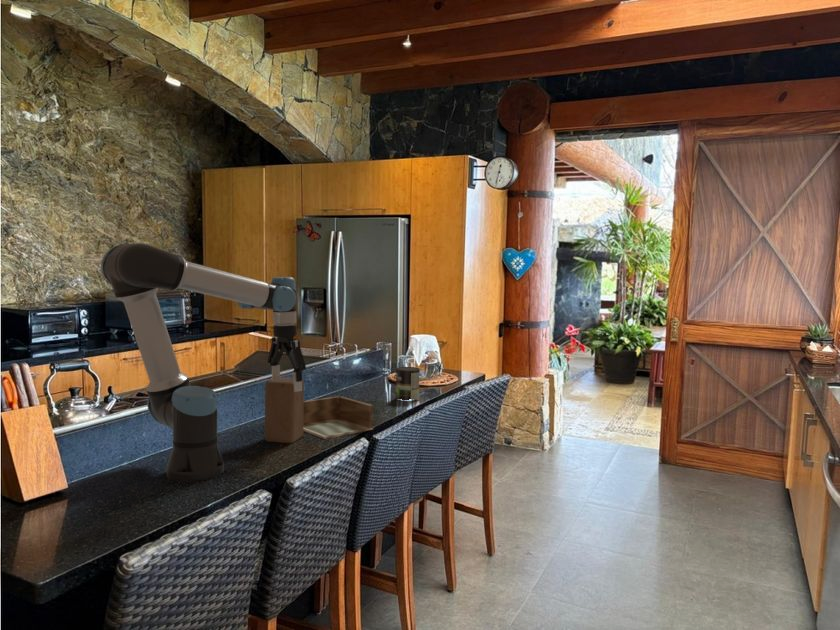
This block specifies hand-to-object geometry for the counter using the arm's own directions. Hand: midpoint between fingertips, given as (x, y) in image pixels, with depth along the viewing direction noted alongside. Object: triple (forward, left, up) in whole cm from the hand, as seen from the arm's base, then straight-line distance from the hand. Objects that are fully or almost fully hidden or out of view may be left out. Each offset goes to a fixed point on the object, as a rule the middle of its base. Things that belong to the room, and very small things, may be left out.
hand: (286, 388), depth 211 cm
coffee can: (+71, +21, -17) cm, 76 cm away
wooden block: (-1, 0, -17) cm, 17 cm away
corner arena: (+19, +1, -17) cm, 26 cm away
